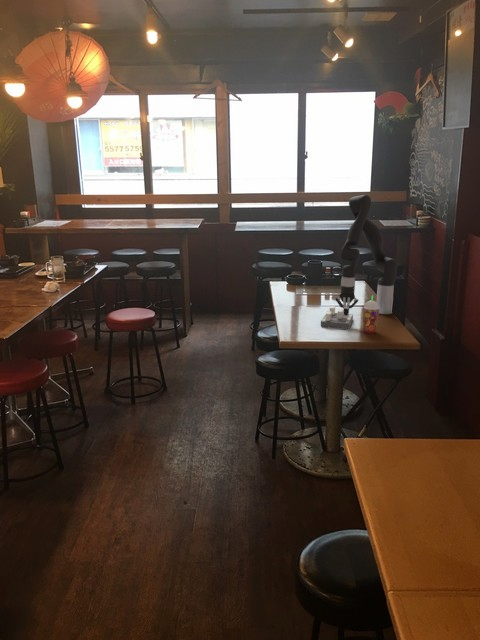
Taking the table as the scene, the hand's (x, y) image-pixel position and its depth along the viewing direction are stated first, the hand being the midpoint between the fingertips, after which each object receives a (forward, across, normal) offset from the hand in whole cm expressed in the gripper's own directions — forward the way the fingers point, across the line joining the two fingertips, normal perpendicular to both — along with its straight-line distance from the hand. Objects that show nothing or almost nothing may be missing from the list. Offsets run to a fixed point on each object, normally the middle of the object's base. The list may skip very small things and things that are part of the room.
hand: (345, 315), depth 311 cm
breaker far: (+2, +9, -7) cm, 11 cm away
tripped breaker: (+2, +3, 0) cm, 4 cm away
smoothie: (+5, -14, +11) cm, 19 cm away
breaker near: (+2, +9, +6) cm, 11 cm away
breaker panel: (+5, +5, 0) cm, 7 cm away
